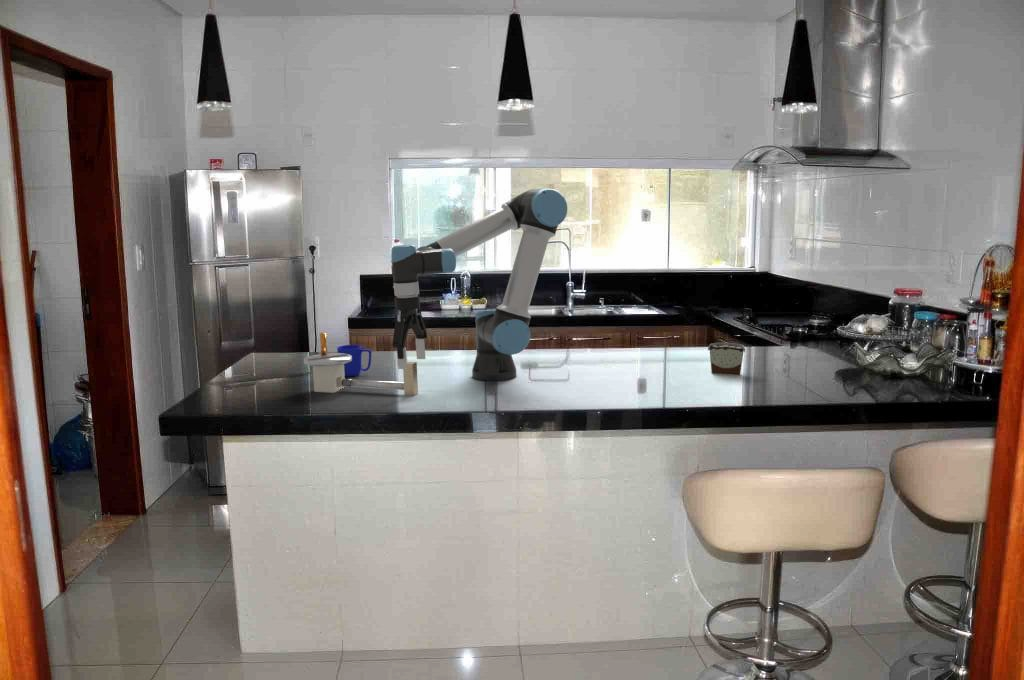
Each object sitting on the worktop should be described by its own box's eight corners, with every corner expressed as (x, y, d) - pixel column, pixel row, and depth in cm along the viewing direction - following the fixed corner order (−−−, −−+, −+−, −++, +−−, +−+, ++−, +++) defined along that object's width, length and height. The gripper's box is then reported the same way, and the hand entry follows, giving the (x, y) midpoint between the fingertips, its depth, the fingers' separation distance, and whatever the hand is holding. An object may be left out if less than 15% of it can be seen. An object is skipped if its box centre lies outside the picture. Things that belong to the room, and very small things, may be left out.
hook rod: (418, 393, 245) (416, 362, 244) (413, 395, 242) (412, 364, 241) (346, 389, 253) (344, 358, 251) (341, 391, 250) (339, 360, 248)
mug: (367, 378, 268) (366, 349, 266) (334, 377, 270) (333, 348, 269) (376, 373, 276) (375, 345, 274) (344, 372, 278) (342, 344, 276)
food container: (747, 372, 266) (748, 343, 264) (744, 376, 260) (745, 346, 258) (710, 369, 271) (711, 341, 269) (707, 373, 265) (707, 344, 263)
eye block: (345, 387, 255) (343, 360, 254) (333, 392, 248) (332, 365, 247) (326, 386, 257) (324, 359, 256) (314, 391, 250) (312, 364, 249)
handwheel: (341, 354, 261) (340, 330, 260) (359, 361, 249) (357, 336, 248) (297, 360, 253) (295, 335, 252) (313, 368, 241) (312, 342, 239)
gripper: (412, 290, 252) (417, 355, 256) (377, 302, 228) (383, 372, 232) (434, 290, 249) (438, 355, 253) (400, 302, 226) (406, 373, 230)
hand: (412, 363), depth 243 cm, fingers open, 13 cm apart
